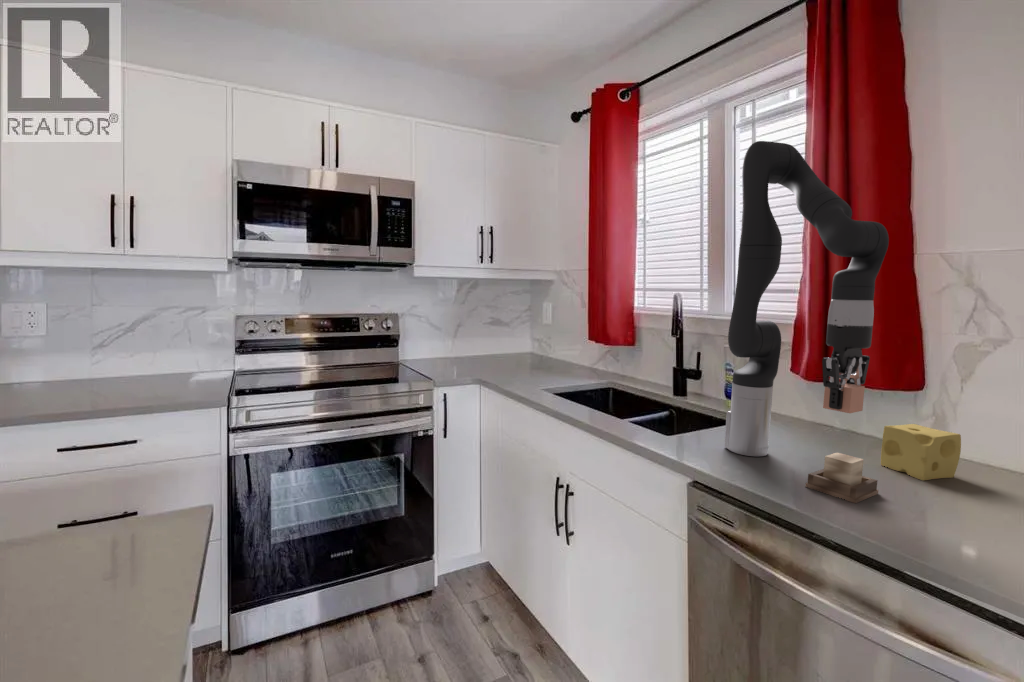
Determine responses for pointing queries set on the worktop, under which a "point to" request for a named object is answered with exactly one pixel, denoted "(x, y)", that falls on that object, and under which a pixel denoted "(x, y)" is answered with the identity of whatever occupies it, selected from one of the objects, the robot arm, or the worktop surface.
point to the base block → (843, 468)
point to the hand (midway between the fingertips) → (842, 406)
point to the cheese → (920, 451)
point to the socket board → (842, 487)
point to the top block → (848, 398)
